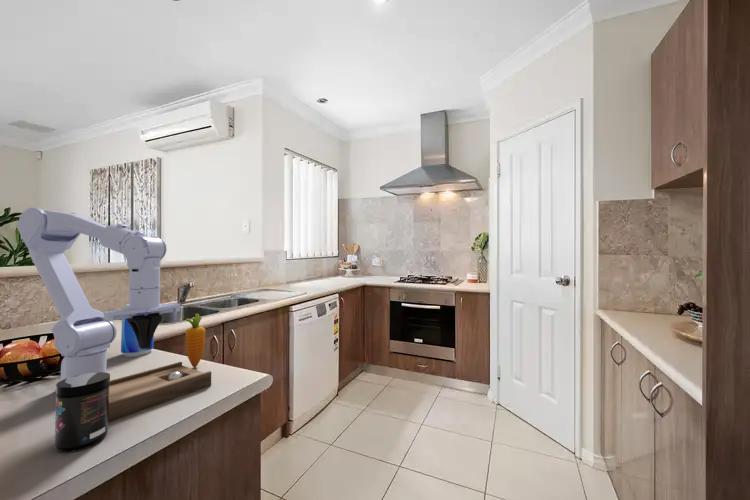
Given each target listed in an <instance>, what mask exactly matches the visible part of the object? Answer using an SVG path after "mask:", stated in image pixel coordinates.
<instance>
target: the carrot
mask: <svg viewBox="0 0 750 500" xmlns="http://www.w3.org/2000/svg"><path fill="white" fill-rule="evenodd" d="M194 316H195V317H194ZM194 316H193V317H191V318H192V319H190V318H188V317H187V318H186V319H185V321H186V322H188V323H190V324H191V327H189V328H187V329H186V331H185V350H186V355H187V359H188V361H189V363H190V364H191V366H192V368H194V367H195V368H197V366H199V363H200V361H201V359H202V357H203V354H204V349H205V345H206V332H207V331H206V328H205V327H203V326H199V325H200V322H201V320H202V316H200V313H195V315H194Z"/></svg>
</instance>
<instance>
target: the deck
mask: <svg viewBox="0 0 750 500" xmlns="http://www.w3.org/2000/svg"><path fill="white" fill-rule="evenodd" d="M176 371H177V372H180V373H182V375H183V377H182V378H178V379H175V380H172V381H169V382H168V381H167V379H168V376H169V375H170V374H171V373H173V372H176ZM211 386H212V371H209V370H208V371H206V372H203V371H199V370H197V369H195V368H191V367H187V366H185V365H183V362H182V361H178V362H175V363H171V364H166V365H164V366H159V367H157V368H153V369H148V370H145V371H141V372H137V373H133V374H130V375H126V376H123V377H119V378H115V379H110V387H109V421H108V423H110V422H113V421H115V420H118V419H121V418H124V417H126V416H130V415H132V414H135V413H138V412H140V411H143V410H146V409H150V408H152V407H155V406H157V405H160V404H164V403H166V402H170V401H172V400H174V399H177V398H180V397H183V396H185V395H188V394H191V393H195V392H197V391H200V390H202V389H204V388H207V387H211Z"/></svg>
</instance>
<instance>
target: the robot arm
mask: <svg viewBox="0 0 750 500" xmlns="http://www.w3.org/2000/svg"><path fill="white" fill-rule="evenodd" d="M16 228H17V230H18V233H19V234H20V237H21V238H22V241H23V243H24V245H25V246H26V248H27V249H28V254H29V255H30V258H31V261H32V263H33V264H34V267H35V268H36V271H37V272H38V275H39V277H40V278H41V281H42V282H43V284H44V286H45V288H46V292H48V294H49V296H50V298H51V300H52V303H53V304H54V306H55V308H56V310H57V313H58V315H59V316H60V318H59V320H58V321H57V322H55V324H54V325H53V327H52V328H51V332H52V334H53V337H54V341H53V342H54V347H55V350H57V352H58V353H59V354H61V357H63V359H62V360H61V364H60V381H62V380H64V379H67V378H70V377H73V376H77V375H82V374H87V373H96V372H106V373H107V363H108V362H107V358H108V357H107V356H108V355H107V354H108V349H109V348H110V347H111V344H112V343H113V342H114V341H115V340H116V337H117V327H116V325H115V324H114V321H117V320H118V321H119V320H122V319H127V321H128V323H129V324H130V326H131V327H132V329H133V331H134V333H135V335H136V337H137V340H138V344H139V348H141V349H146V348H150V345H151V341H152V338H153V335H154V336H155V332H156V330H157V329H158V326H159V325H160V323H161V322H162V320H163V315H162V314H168V313H178V312H181V303H177V302H175V303H164V304H161V260H162V259H163V258H164V257H165V256H166V253H167V250H168V249H167V244H166V242H165V241H164V240H163V239H162V238H159V236H146V235H145V232H143V231H139V230H136V231H134V230H132V229H129V228H128V225H127V224H122V223H117V224H110V225H104V224H102V223H100V222H98V221H96V220H93V219H91V218H88V217H86V215H83V214H78V213H75V212H64V211H56V210H48V209H41V208H38V207H27V208H26V209H25V210H23V212H22V213H21V214H20V216H19V220H18V221H17V224H16ZM81 234H83V235H85V236H89V237H91V238H95V239H98V241H99V243H100V245H101V246H102V247H104V248H107V249H109V250H111V251H113V252H116V253H120V254H122V255H123V256H124V258H125V259H126V264H127V265H126V267H127V268H128V269H129V291H128V292H129V297H128V298H129V299H128V304H129V308H127V309H125V308H123V309H122V308H121V309H115V310H108V311H103V312H102V311H100V310H98V309H95V308H93V307H92V306H91V305H90V302H89V301H88V299H87V297H86V295H85V293H84V291H83V288H82V287H81V285H80V283H79V281H78V279H77V276H76V275H75V273H74V270H73V269H72V268H71V265H70V263H69V261H68V259H67V258H66V257H67V256H66V255H65V252H66V251H67V250H69V249H71V248H72V246H73V245H74V244H75V242H76V241H77V239H78V238H79V237H80V236H81ZM146 312H152V313H146ZM137 313H144V314H137ZM136 314H137V315H136ZM54 391H55V392H56V388H54Z"/></svg>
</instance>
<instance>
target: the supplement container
mask: <svg viewBox="0 0 750 500" xmlns="http://www.w3.org/2000/svg"><path fill="white" fill-rule="evenodd" d="M110 380H111V374H110V373H109V372H107V371H106V372H96V373H87V374H82V375H77V376H73V377H70V378H67V379H64V380H62V381H61V380H60V381H58V382H57V383H56V384H55V389H56V391H55V412H54V413H55V416H54V417H55V421H54V440H53V441H54V443H53V444H54V445H53V446H54V449H55V450H56V451H58V452H61V453H71V452H72V453H73V452H77V451H81V450H85V449H87V448H89V447H92V446H94V445H96V444H98V443H99V442H101V441H102V440H103V439H104V438H105V437H106V436H107V435H108V432H109V422H108V421H109V387H110Z"/></svg>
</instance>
